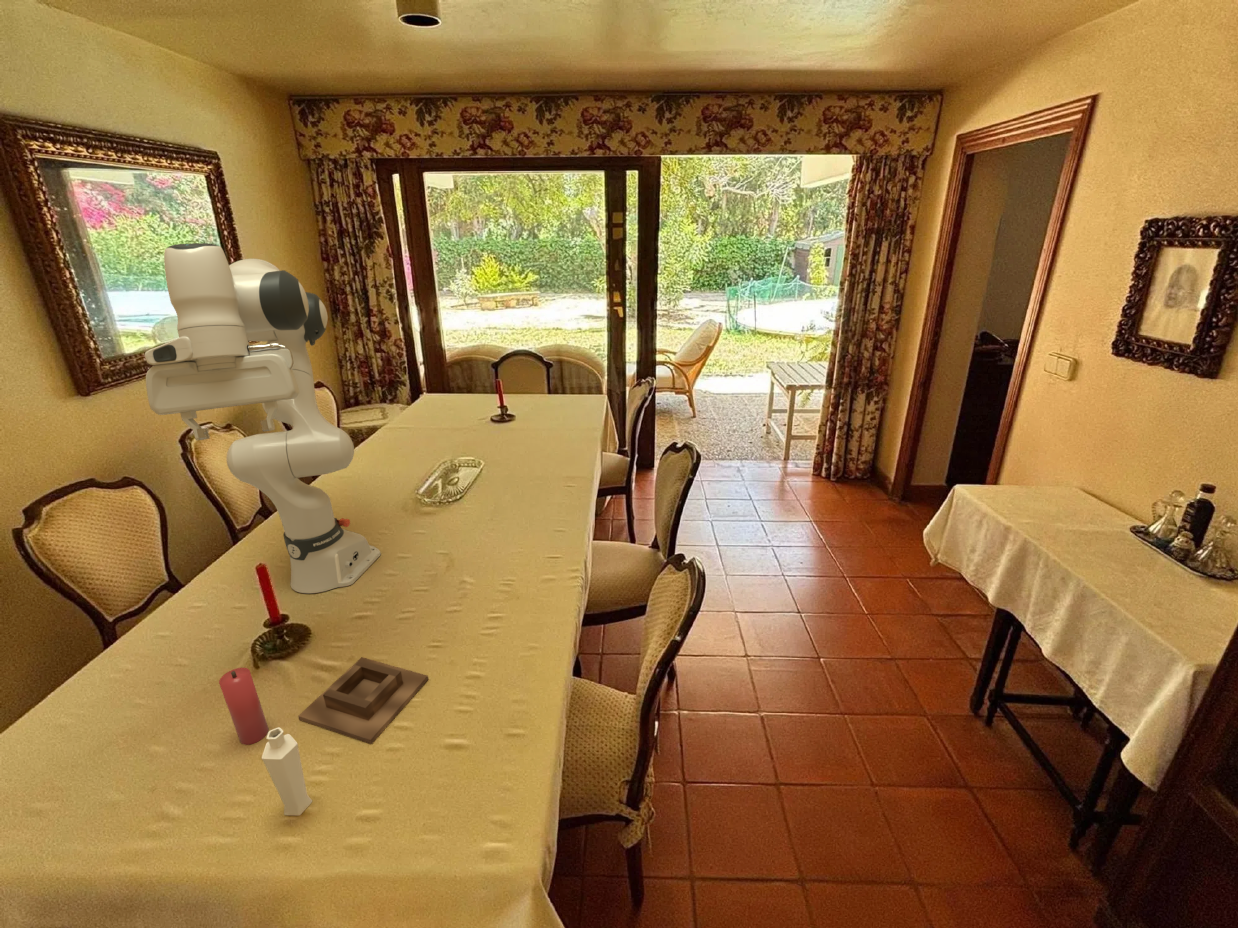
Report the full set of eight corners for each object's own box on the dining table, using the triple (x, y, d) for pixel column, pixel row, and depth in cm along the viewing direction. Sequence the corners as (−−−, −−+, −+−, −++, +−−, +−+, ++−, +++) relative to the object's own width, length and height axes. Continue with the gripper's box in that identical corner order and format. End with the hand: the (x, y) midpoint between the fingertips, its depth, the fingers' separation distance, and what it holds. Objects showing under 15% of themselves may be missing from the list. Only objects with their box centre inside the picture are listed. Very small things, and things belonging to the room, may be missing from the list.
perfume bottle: (274, 807, 89) (250, 736, 83) (303, 787, 92) (281, 716, 86) (288, 825, 86) (264, 752, 80) (318, 803, 89) (296, 732, 83)
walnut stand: (362, 660, 118) (359, 645, 116) (428, 679, 113) (425, 663, 112) (299, 719, 104) (294, 703, 103) (371, 744, 99) (367, 726, 98)
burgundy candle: (255, 721, 104) (235, 660, 98) (274, 727, 103) (254, 666, 97) (233, 740, 100) (210, 678, 95) (252, 747, 99) (230, 684, 93)
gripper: (293, 343, 97) (311, 424, 99) (151, 357, 91) (172, 443, 93) (284, 339, 91) (302, 426, 93) (131, 354, 85) (154, 446, 87)
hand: (236, 435), depth 93 cm, fingers open, 8 cm apart
